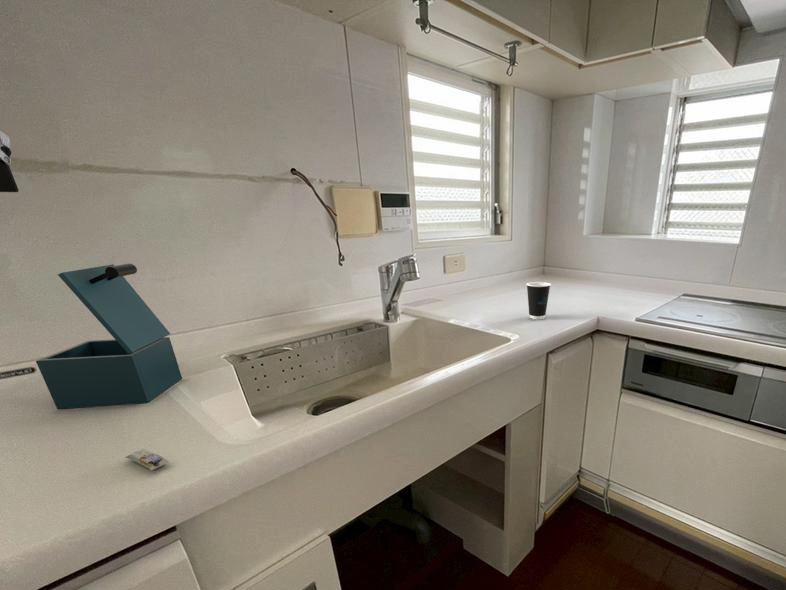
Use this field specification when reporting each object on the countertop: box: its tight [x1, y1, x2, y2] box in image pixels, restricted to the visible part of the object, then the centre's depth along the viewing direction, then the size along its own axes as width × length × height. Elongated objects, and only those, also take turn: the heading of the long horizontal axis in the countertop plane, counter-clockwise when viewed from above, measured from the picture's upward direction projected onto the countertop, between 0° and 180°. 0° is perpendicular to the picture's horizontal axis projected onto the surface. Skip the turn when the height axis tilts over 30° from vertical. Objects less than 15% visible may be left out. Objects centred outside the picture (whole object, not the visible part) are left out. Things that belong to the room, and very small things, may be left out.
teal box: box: [35, 336, 183, 410], centre depth 73 cm, size 14×12×9 cm
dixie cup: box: [525, 281, 552, 320], centre depth 130 cm, size 8×8×11 cm
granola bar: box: [124, 448, 171, 471], centre depth 53 cm, size 7×2×1 cm, turn 64°
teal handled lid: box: [57, 263, 171, 354], centre depth 70 cm, size 14×12×6 cm
